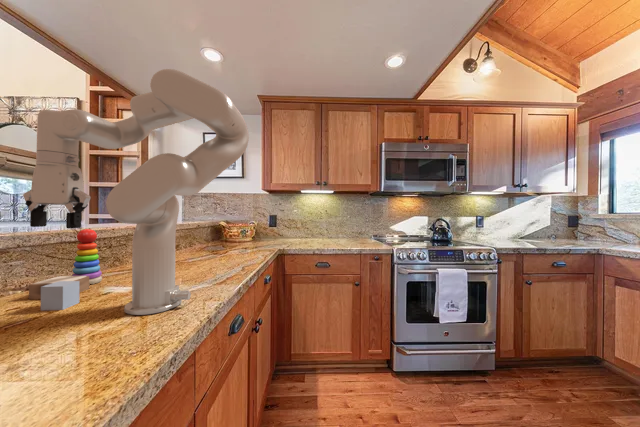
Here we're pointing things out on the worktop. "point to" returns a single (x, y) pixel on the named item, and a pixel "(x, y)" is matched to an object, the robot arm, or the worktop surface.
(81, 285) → the walnut tray
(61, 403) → the worktop surface
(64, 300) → the grey block
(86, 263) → the stacking toy
